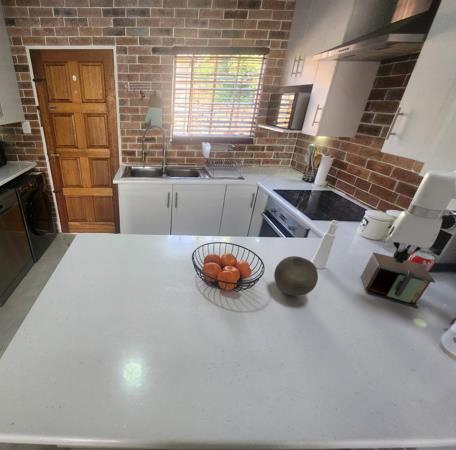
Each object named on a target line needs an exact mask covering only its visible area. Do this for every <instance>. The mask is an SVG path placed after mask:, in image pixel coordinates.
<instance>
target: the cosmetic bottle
mask: <svg viewBox="0 0 456 450" xmlns="http://www.w3.org/2000/svg"><path fill="white" fill-rule="evenodd" d="M339 223H340V222H339V220H335V219H333V220H331V222H330V224H329V226H328V229H327V231H325V233H324V235H323V237H322V239H321V241H320V243H319V246H318V248H317V250H316V252H315V254H314V255H313V257H312V259H311V260H310V261H311V262H312V263H313V264H314V266H315V267H316V269H319V270H324V269H326V268H327V262H328V259H329V255H330V253H331V249H332V248H333V245H334V242H335V239H336V232H337V229H338V227H339Z"/></svg>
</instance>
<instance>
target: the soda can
mask: <svg viewBox="0 0 456 450" xmlns="http://www.w3.org/2000/svg"><path fill="white" fill-rule="evenodd" d="M435 259H436V258H435V257H434V255H432V254H430V253H427V252H424V251H420V250H418V251H415V252H413V253H412V254H410V255H409V256H408V258H407V259H406V260H407V261H412V262H416V263H420V264H423V265H424V267H425V268H426V270H427V271H428V272H429V273H430V271H431V270H432V268H433V267H434V265H435Z"/></svg>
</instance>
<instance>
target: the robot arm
mask: <svg viewBox="0 0 456 450" xmlns="http://www.w3.org/2000/svg"><path fill="white" fill-rule="evenodd" d="M452 200H456V169H455V170H453V171H449V170H441V169H439V170H438V169H434V170H429V171H427V172H426V173H425V174H424V176H423V178H422V180H421V182H420V184H419V186H418V188H417V190H416V192H415V194H414V196H413V198H412V199H411V202H410V203H409V205H408V208H407V210H402V212H401V213H400V214H399V215H398V217H397V218H396V219H395V220H394V222H393V224H392V225H391V227H390V229H389V231H388V232H387V235H388V236H387V238H385V242H386V243H387V244H390V245H393V246H394V247H395V252H394V253H393V256H392V257H393V258H394V259H395V261H396V262H400V263H403V262H404V261H406V260H408V259H409V257H410V255H412V254H414V253H415V252H416V251H423V252H424V251H430V250H431V248H432V246H433V245H434V244H435V241H436V240H437V237H438V235H439V233H440V231H441V227H442V224H443V217H444V216H446V217H447V216H450V214H451V211H450V210H447V208H448V206H449V204H450V202H451V201H452ZM405 245H406V246H405Z"/></svg>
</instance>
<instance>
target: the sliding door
mask: <svg viewBox="0 0 456 450" xmlns="http://www.w3.org/2000/svg"><path fill="white" fill-rule="evenodd" d="M413 275H414V274H413V272H410V271H408V272H407V274H406V275H401V274H399V276H398V277H397V279H396V281H395V282H394V284H393V286H392V287H391V289H390V291H389V292H388V294H387V296H388V297H392V298H395V299H398V300H402V301H405V302H409V303H410V301H411V300H412V298H413V297H414V295H415V294H416V292H417V291H418V289H419V288H420V286H421V285H422V283H423V282H424V281H423V280H420V279H416V278H412V276H413Z"/></svg>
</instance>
